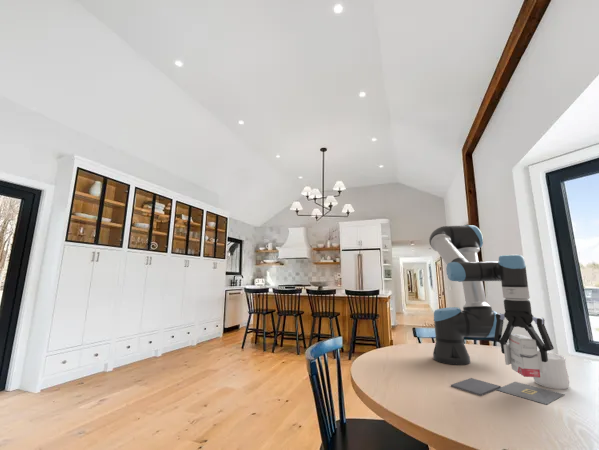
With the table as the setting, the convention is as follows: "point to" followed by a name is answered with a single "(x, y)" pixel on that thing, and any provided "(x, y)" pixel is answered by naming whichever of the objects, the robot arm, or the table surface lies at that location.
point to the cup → (554, 373)
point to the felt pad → (475, 386)
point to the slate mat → (530, 392)
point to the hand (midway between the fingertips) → (525, 367)
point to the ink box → (524, 355)
